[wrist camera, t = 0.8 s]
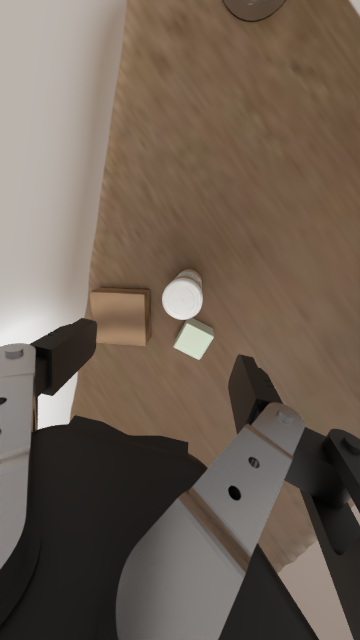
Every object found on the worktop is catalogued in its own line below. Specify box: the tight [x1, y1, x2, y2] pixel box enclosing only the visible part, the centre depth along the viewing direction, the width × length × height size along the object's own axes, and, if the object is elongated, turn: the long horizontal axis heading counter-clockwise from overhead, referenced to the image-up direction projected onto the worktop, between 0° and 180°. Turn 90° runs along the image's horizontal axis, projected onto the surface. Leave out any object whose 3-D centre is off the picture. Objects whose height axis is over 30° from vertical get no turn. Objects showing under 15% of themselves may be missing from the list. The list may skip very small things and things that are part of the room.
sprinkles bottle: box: [162, 269, 203, 320], centre depth 29 cm, size 5×5×14 cm
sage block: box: [174, 318, 214, 360], centre depth 37 cm, size 5×5×4 cm
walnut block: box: [89, 287, 151, 346], centre depth 36 cm, size 9×9×4 cm
